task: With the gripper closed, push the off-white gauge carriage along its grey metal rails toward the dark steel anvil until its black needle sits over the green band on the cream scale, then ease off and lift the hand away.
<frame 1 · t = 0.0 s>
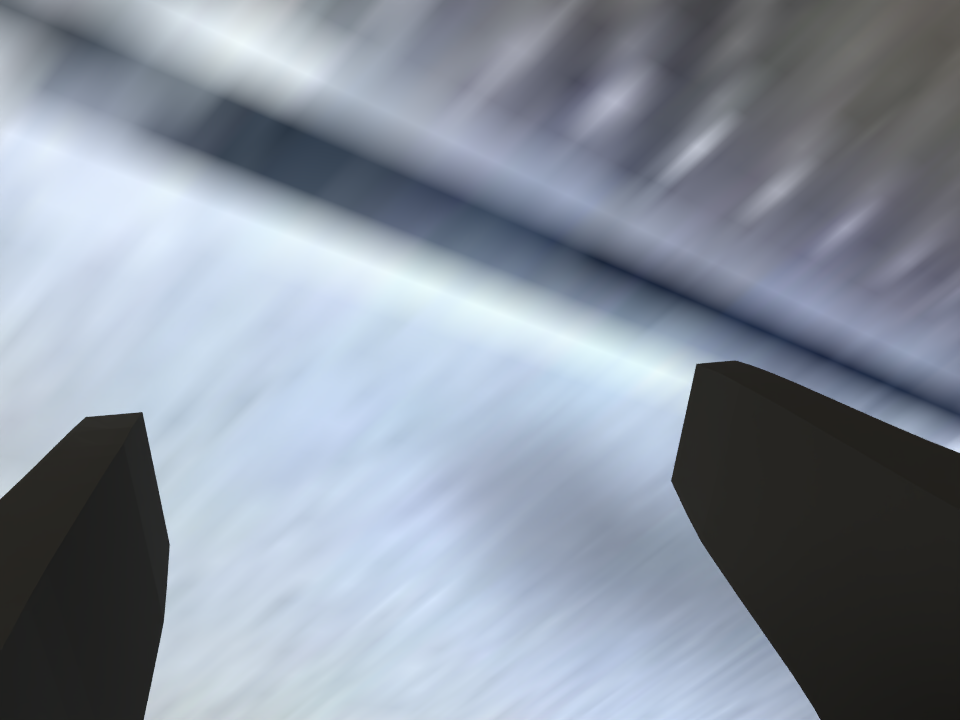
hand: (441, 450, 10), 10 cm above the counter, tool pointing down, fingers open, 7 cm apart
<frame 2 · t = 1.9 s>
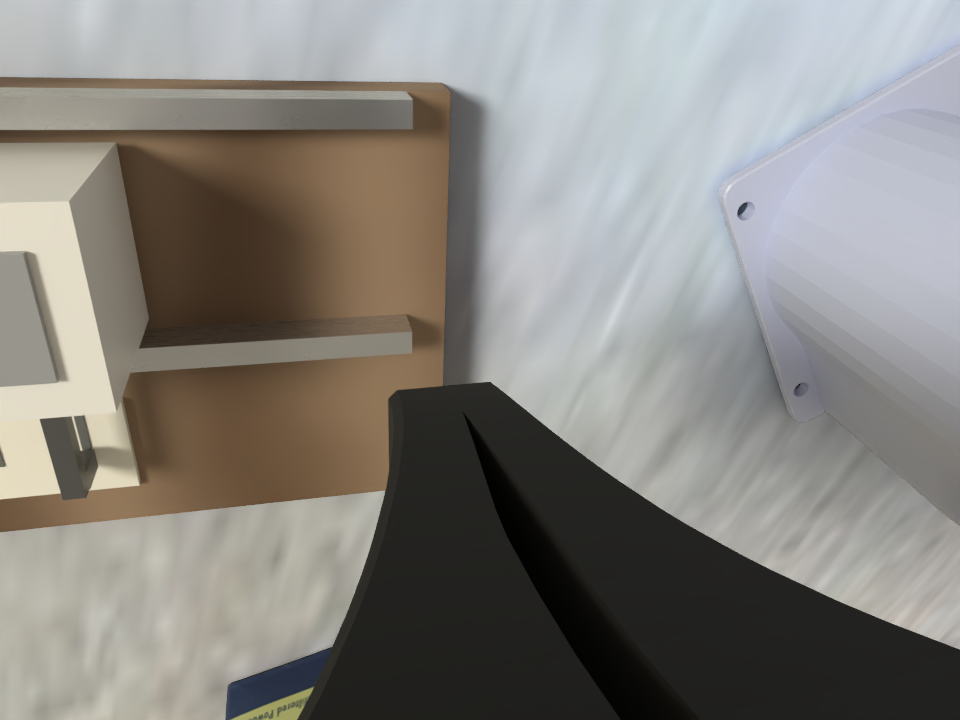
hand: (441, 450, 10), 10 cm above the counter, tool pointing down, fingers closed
gauge carriage: (25, 366, 15), point 4 cm above the counter, slide at 0.0 cm
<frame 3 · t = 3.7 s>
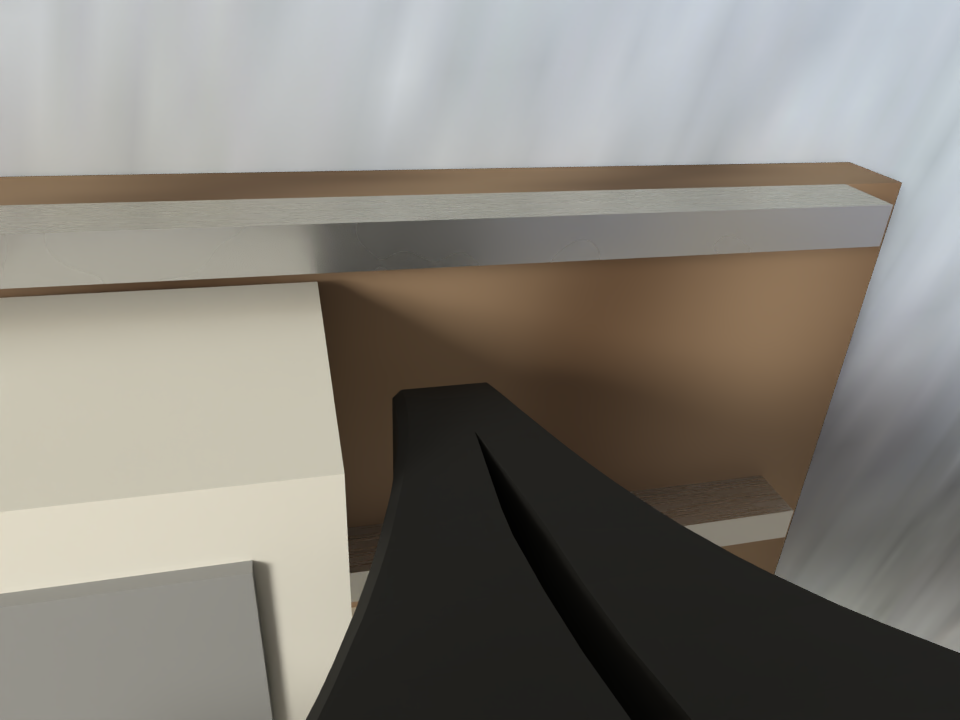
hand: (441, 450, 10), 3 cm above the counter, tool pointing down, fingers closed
gauge bed: (189, 503, 12), on the counter
gauge carriage: (179, 651, 9), point 4 cm above the counter, slide at 1.7 cm, touching gripper
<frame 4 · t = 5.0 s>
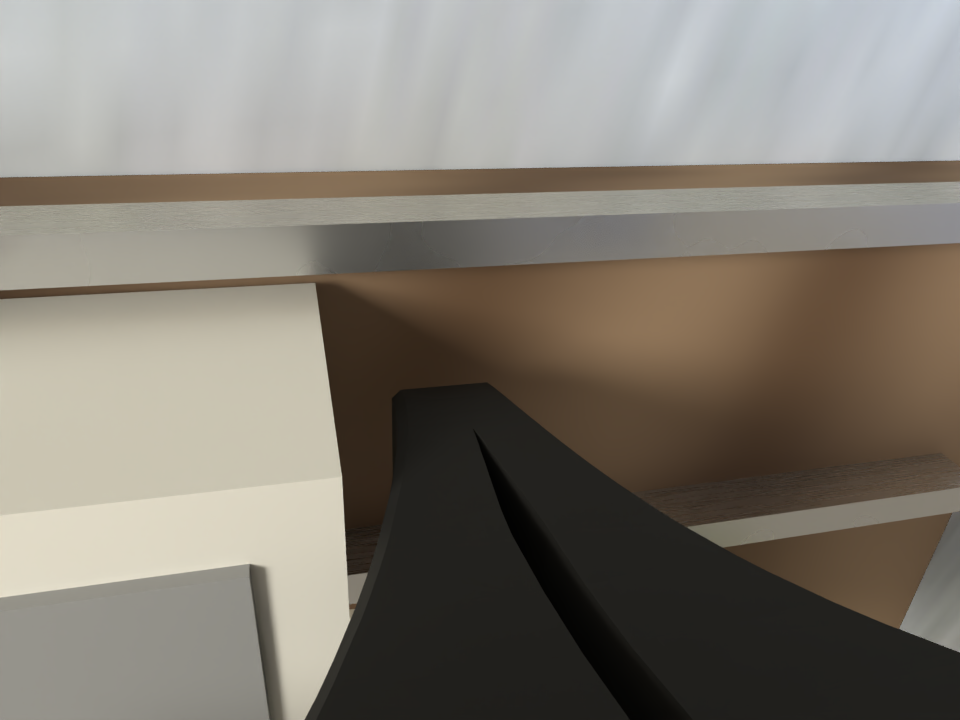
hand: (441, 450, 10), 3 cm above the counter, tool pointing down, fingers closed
gauge bed: (425, 477, 13), on the counter
gauge carriage: (176, 654, 9), point 4 cm above the counter, slide at 5.7 cm, touching gripper
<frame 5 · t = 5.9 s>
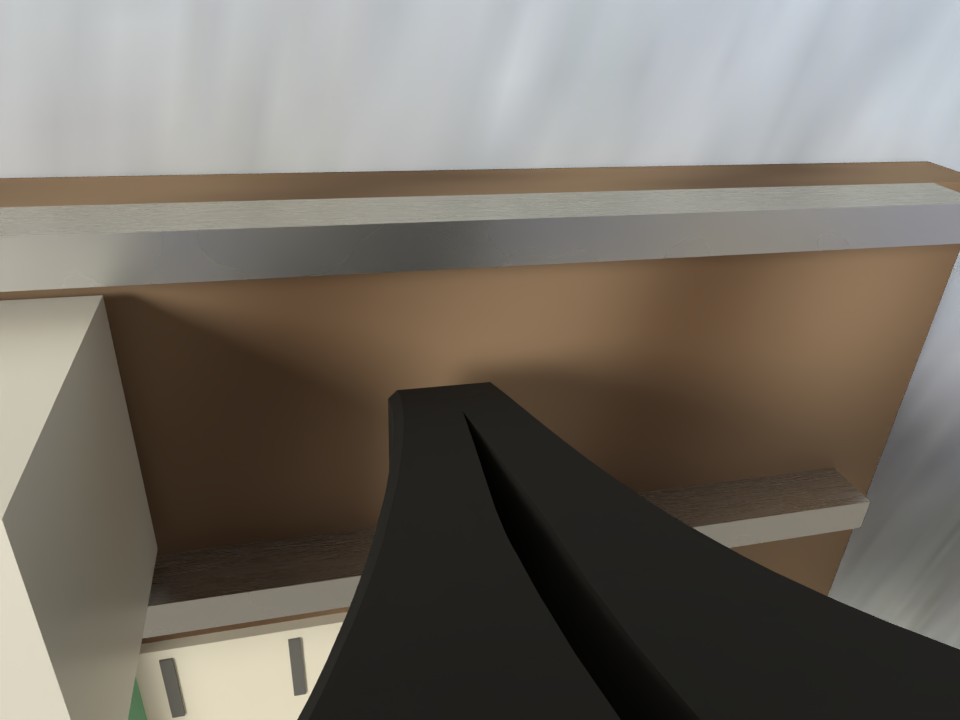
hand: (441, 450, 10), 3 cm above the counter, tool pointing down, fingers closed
gauge scale: (184, 636, 14), resting on gauge bed
gauge bed: (283, 495, 13), on the counter
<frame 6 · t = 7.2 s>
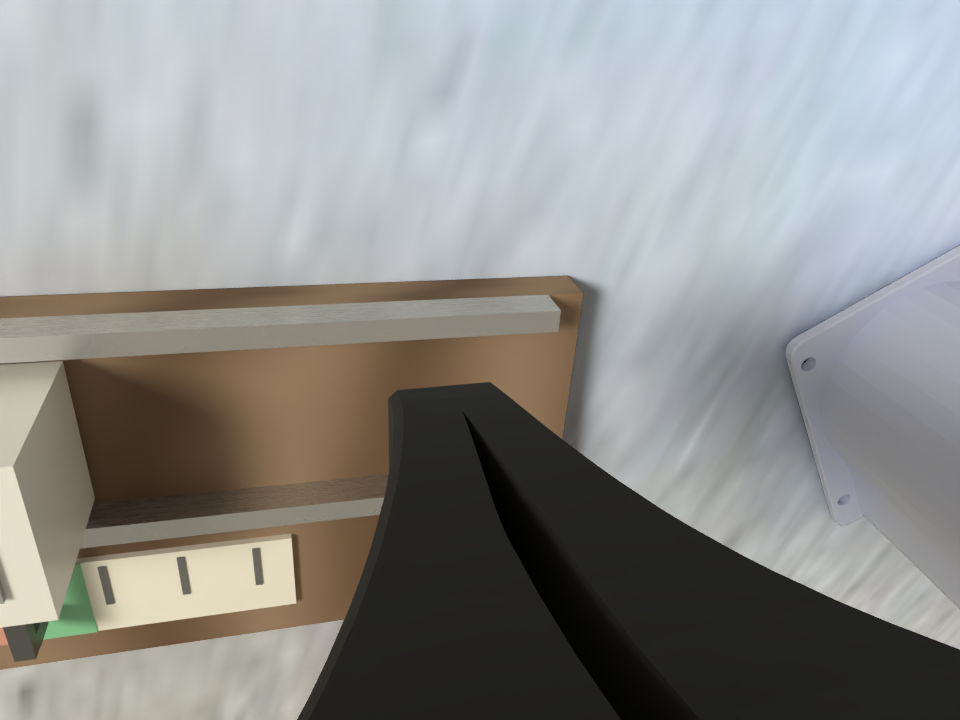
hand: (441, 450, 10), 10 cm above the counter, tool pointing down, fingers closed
gauge scale: (117, 559, 22), resting on gauge bed
gauge bed: (176, 471, 21), on the counter
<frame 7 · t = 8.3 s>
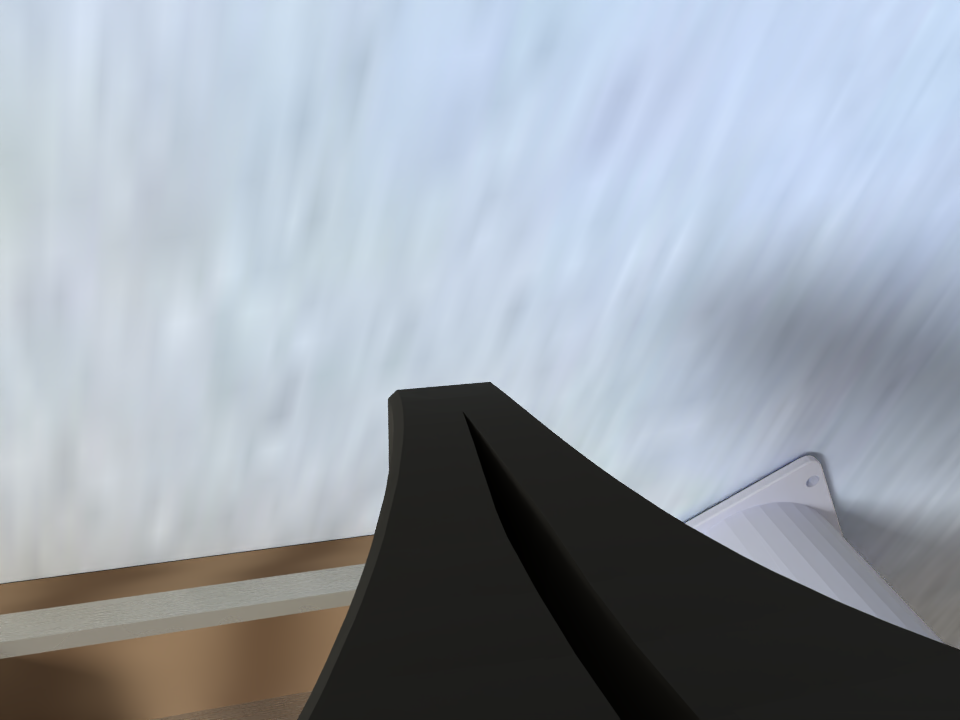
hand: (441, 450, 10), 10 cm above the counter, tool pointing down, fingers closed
gauge bed: (75, 703, 24), on the counter
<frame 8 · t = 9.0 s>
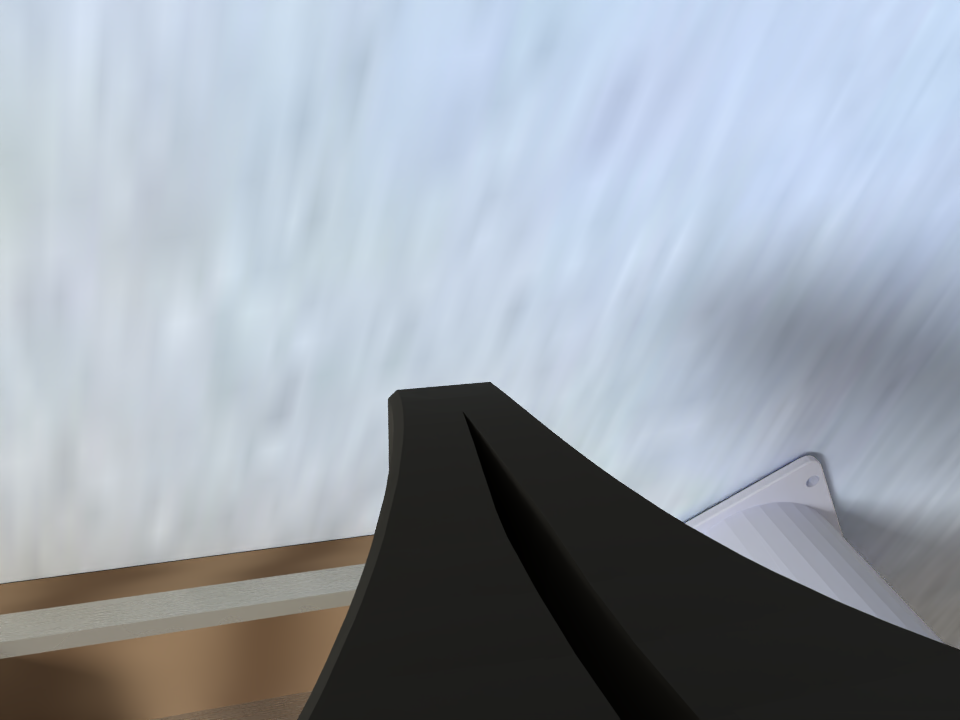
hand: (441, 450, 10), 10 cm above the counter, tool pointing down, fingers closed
gauge bed: (75, 703, 24), on the counter
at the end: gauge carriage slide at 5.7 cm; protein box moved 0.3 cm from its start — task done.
